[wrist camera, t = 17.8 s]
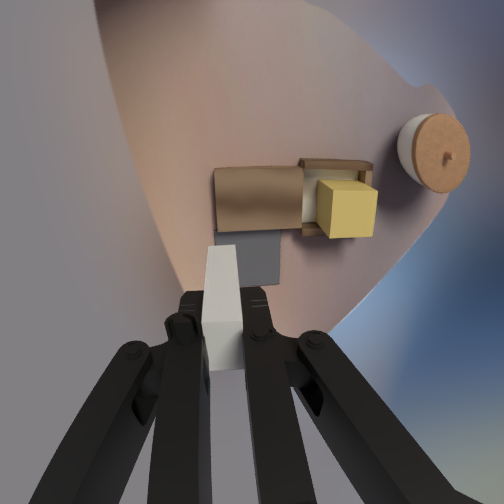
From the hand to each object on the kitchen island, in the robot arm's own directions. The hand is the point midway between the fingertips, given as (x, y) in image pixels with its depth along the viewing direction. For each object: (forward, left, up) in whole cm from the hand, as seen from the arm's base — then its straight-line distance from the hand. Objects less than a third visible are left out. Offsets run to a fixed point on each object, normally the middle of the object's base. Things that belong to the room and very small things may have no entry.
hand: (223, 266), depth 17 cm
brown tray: (+2, +10, -22) cm, 24 cm away
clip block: (+3, +15, -19) cm, 25 cm away
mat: (+11, +3, -22) cm, 25 cm away
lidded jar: (-6, +28, -23) cm, 36 cm away
